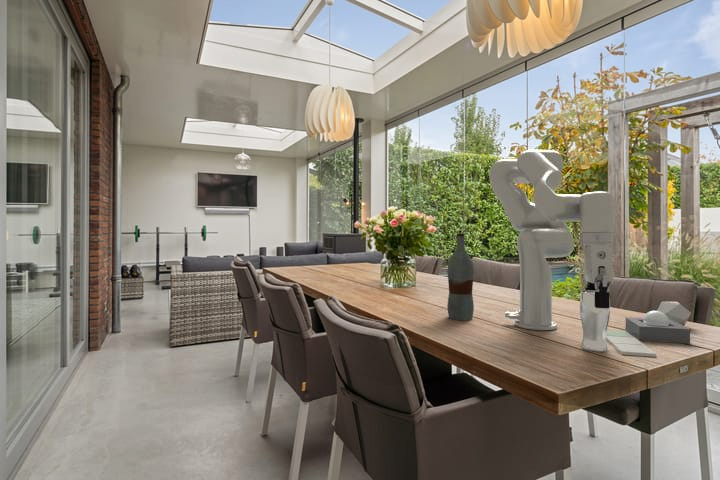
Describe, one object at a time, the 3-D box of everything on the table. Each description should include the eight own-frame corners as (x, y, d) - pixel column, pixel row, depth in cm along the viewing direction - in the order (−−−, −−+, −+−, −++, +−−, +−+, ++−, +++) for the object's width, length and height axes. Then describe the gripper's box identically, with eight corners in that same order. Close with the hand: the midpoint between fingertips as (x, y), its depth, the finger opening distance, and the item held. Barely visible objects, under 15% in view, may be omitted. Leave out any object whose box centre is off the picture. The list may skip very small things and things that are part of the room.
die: (691, 332, 126) (700, 306, 129) (664, 318, 127) (673, 292, 130) (671, 335, 134) (680, 310, 136) (646, 322, 135) (655, 297, 138)
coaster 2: (612, 345, 111) (612, 342, 111) (604, 338, 118) (604, 335, 118) (644, 347, 108) (644, 344, 108) (634, 340, 116) (634, 337, 116)
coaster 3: (621, 354, 103) (621, 351, 103) (612, 346, 110) (612, 343, 110) (656, 357, 101) (656, 353, 101) (644, 348, 108) (645, 345, 108)
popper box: (639, 340, 116) (639, 326, 115) (625, 330, 127) (625, 317, 127) (690, 343, 112) (690, 329, 112) (671, 332, 123) (671, 319, 123)
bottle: (441, 316, 147) (441, 233, 146) (460, 314, 152) (461, 233, 151) (460, 321, 139) (460, 233, 138) (479, 318, 144) (480, 233, 143)
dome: (647, 333, 117) (648, 312, 117) (640, 328, 123) (640, 308, 123) (672, 334, 116) (672, 313, 116) (663, 329, 121) (663, 309, 121)
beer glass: (573, 345, 111) (574, 290, 111) (597, 344, 112) (598, 289, 111) (590, 352, 104) (590, 294, 104) (615, 352, 105) (616, 293, 105)
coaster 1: (603, 337, 118) (603, 335, 118) (597, 331, 125) (597, 328, 125) (633, 339, 116) (633, 337, 116) (625, 333, 123) (625, 330, 123)
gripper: (623, 239, 98) (624, 311, 98) (603, 239, 114) (604, 300, 114) (587, 239, 100) (588, 310, 100) (573, 239, 116) (574, 299, 116)
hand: (597, 305), depth 107 cm, fingers open, 9 cm apart
